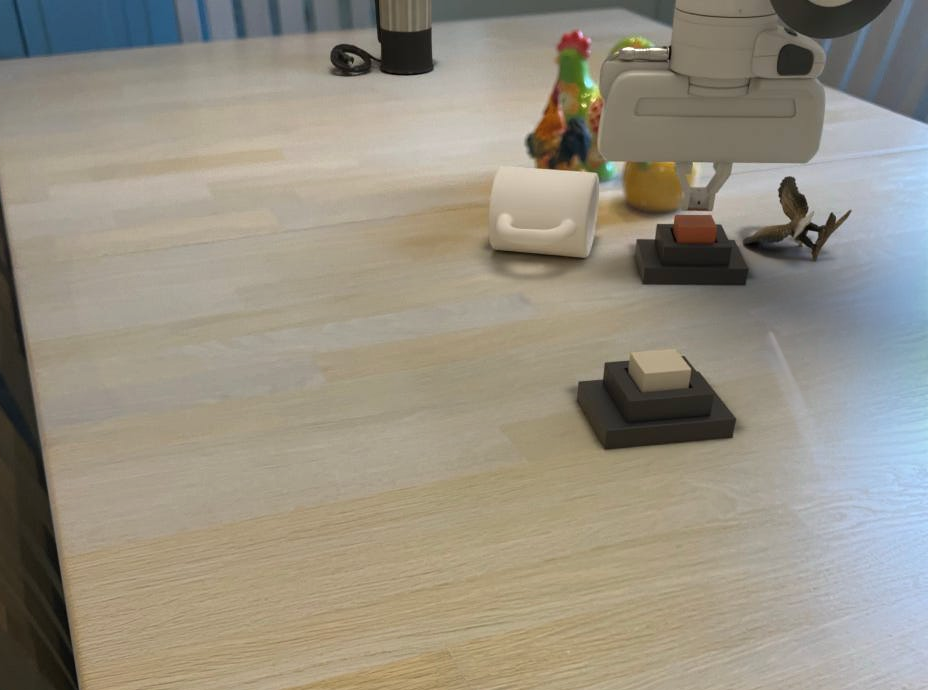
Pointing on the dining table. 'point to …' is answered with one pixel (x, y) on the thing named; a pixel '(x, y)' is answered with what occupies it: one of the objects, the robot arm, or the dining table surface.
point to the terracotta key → (694, 229)
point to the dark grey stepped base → (689, 260)
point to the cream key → (659, 370)
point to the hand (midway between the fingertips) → (696, 209)
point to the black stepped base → (652, 411)
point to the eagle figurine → (797, 221)
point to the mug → (543, 211)
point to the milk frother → (395, 39)
